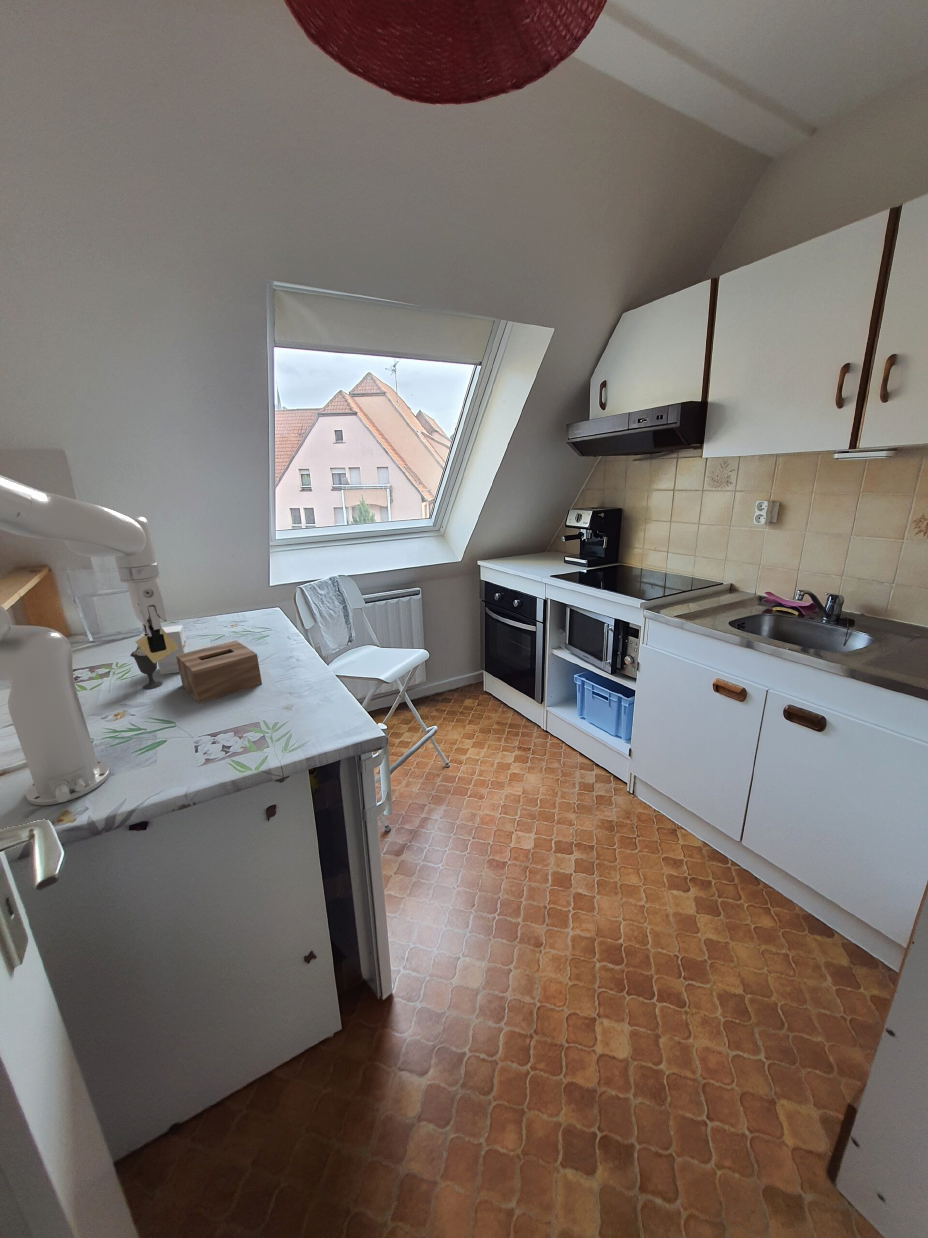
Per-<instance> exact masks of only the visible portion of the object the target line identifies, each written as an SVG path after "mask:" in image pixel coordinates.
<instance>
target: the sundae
mask: <svg viewBox="0 0 928 1238" xmlns="http://www.w3.org/2000/svg"><path fill="white" fill-rule="evenodd" d="M142 637H144V635H143V636H141V638H142ZM129 655H130V656H129V657H131V658H133V659H134V661H135V663H136V665H137V667H138V669H139V671H140V673H142V674H143V675H147V679H148V682H147V683H145V684H143V685H142V686H141V687H142V689H143V690H152V689H157V688H158V687H161V686H162V685H163V684H164V683H163V681H159V680H156V679H155V678H154V673H155V672H156V671H157V670H158V662H156V663H153V662H152V661H151V660H150V658H149V657H148V656H147V655H146V654H145V653H144V651H143V650H142V649H141V648H140V647H139V646H138V645H137V647H136V649H135V650H134V651H132V652H131V653H130V654H129Z"/></svg>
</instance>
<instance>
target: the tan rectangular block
mask: <svg viewBox="0 0 928 1238" xmlns="http://www.w3.org/2000/svg"><path fill="white" fill-rule="evenodd" d="M161 628H162V633H163V635H164V640H165V644H166V650H163V651H159V652H155V653H151V652H150V648H149V644H148V640H147V636H148V634H147V633H146V634H147V635H143V637H142V636H141V638H139V639H137V640H135V641H134V642H135V643H136V645H137V646H139V647H140V648H141V649H142V650H143V651H144V653H145V654H146V655H147V656H148V657H149V658H150V660H151V661H152V662H153V663H156V662H157V663H158V661H159V660H161V659H162V658H164V657H165V656H167V655H168V654H170V653H172V652H173V651H175V650H176V649H178V647H177V646H176V644H175V643H174V642H173V641H172V639H171V638H170V637H169V636H168V635H167V633H166V632H165V631H164V630H163V627H161Z"/></svg>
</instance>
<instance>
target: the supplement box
mask: <svg viewBox="0 0 928 1238" xmlns="http://www.w3.org/2000/svg"><path fill="white" fill-rule="evenodd" d="M162 628H163V630H164V631H165V632H166V633H167V635H168V636H169V637H170V638H171V639H172V641H173V642H174V643H175V644H176V646H177V647H178V649H176V650H175V651H173V652H172V653H170V654H168V655H167V656H165V657H164V658H162V659H161V660H159V661H158V662H157V667H158V670H159V675H167V674H168V675H169V674H173V673H175V674H176V673H180V672H179V667H178V663H177V658H176V655H178V654H183V653H187V652H189V649H188V643H187V638H186V635H185V630H184V626H183V624H178V625H172V626H164V627H162Z"/></svg>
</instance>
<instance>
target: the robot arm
mask: <svg viewBox="0 0 928 1238" xmlns="http://www.w3.org/2000/svg"><path fill="white" fill-rule="evenodd" d="M149 524H150V523H149V522H148V519H146V517H144V516H141V515H129V516H127V515H124V514H122V513H120V512H117V511H114V510H112V509H110V508H107V507H103V506H101V505H98V504H94V503H90V502H86V501H83V500H78V499H75V498H71V497H67V496H64V495H60V494H55V493H52V492H49V491H43V490H40V489H36V488H35V487H32V486H29V485H27V484H25V483H21V482H20V481H17V480H14V479H12V478H9V477H7V476H4V475H2V474H0V530H1V531H4V532H6V533H11V534H14V535H17V536H21V537H28V538H33V539H34V538H35V539H42V540H57V541H59V540H60V541H63V542H64V544H65V546H66V547H67V548H68V550H70V551H71V552H73V553H74V554H76V555H79V556H81V557H82V556H83V557H89V558H90V557H91V558H95V557H96V558H99V557H100V558H101V557H102V558H103V557H113V558H114V560H115V563H116V564H115V565H116V568H117V573H118V577H119V581H120V583H124V584H127V589H128V593H129V596H130V601H131V604H132V609H133V612H134V614H135V617H136V619H137V620H138V621H139V622H140V623H141V624H142V629H143V632H144V633H143V636H145V635H147V634H148V636H147V640H148V644H149V648H150V652H151V653H155V652H159V651H163V650H166V644H165V640H164V635H163V633H162V628H163V627H162V625H161V621H160V620H162V621H163V622H167V621H168V619H169V617H168V613H167V610H166V606H165V602H164V598H163V596H162V592H161V588H160V585H159V582H158V579H160V578H161V574H160V569H159V566H158V561H157V556H156V552H155V548H154V547H155V546H154V543H153V538H152V534H151V530H150V525H149ZM73 662H74V661H73V648H72V646H71V643H70V641H69V639H68V638H67V637H66V636H65V635H64V634H62V633H61V632H60V631H58V630H56V629H52V628H50V627H46V626H41V625H40V626H38V625H22V624H21V625H19V624H18V625H17V624H14V625H12V620H11V616H10V614H9V613H8V611H7V610H6V609H5V608H4V607H3V606H2V605H1V604H0V681H8V682H10V690H9V695H8V699H7V707H8V708H7V709H8V713H9V716H10V719H11V721H12V725H13V727H14V730H15V732H16V736H17V739H18V741H19V744H20V747H21V750H22V753H23V756H24V758H25V762H26V765H27V767H28V770H29V773H30V776H31V779H32V783H31V784H30V785H29V786H28V788H27V789H26V791H25V798H26V800H27V802H28V803H29V804H31V805H34V806H52V805H58V804H61V803H65V802H70V801H72V800H74V799H76V798H80V797H82V796H84V795H86V794H88V793H90V792H92V791H93V790H96V789H97V788H98V787H101V785H102V784H103V783H105V782H106V781H107V779H109V777H110V774H111V768H110V764H108V763H107V762H106V761H102V760H97V759H98V757H97V756H96V753H95V749H94V746H93V742H92V739H91V736H90V732H89V728H88V725H87V721H86V719H85V715H84V711H83V707H82V704H81V702H80V698H79V694H78V691H77V688H76V683H75V679H74V669H73Z"/></svg>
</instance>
